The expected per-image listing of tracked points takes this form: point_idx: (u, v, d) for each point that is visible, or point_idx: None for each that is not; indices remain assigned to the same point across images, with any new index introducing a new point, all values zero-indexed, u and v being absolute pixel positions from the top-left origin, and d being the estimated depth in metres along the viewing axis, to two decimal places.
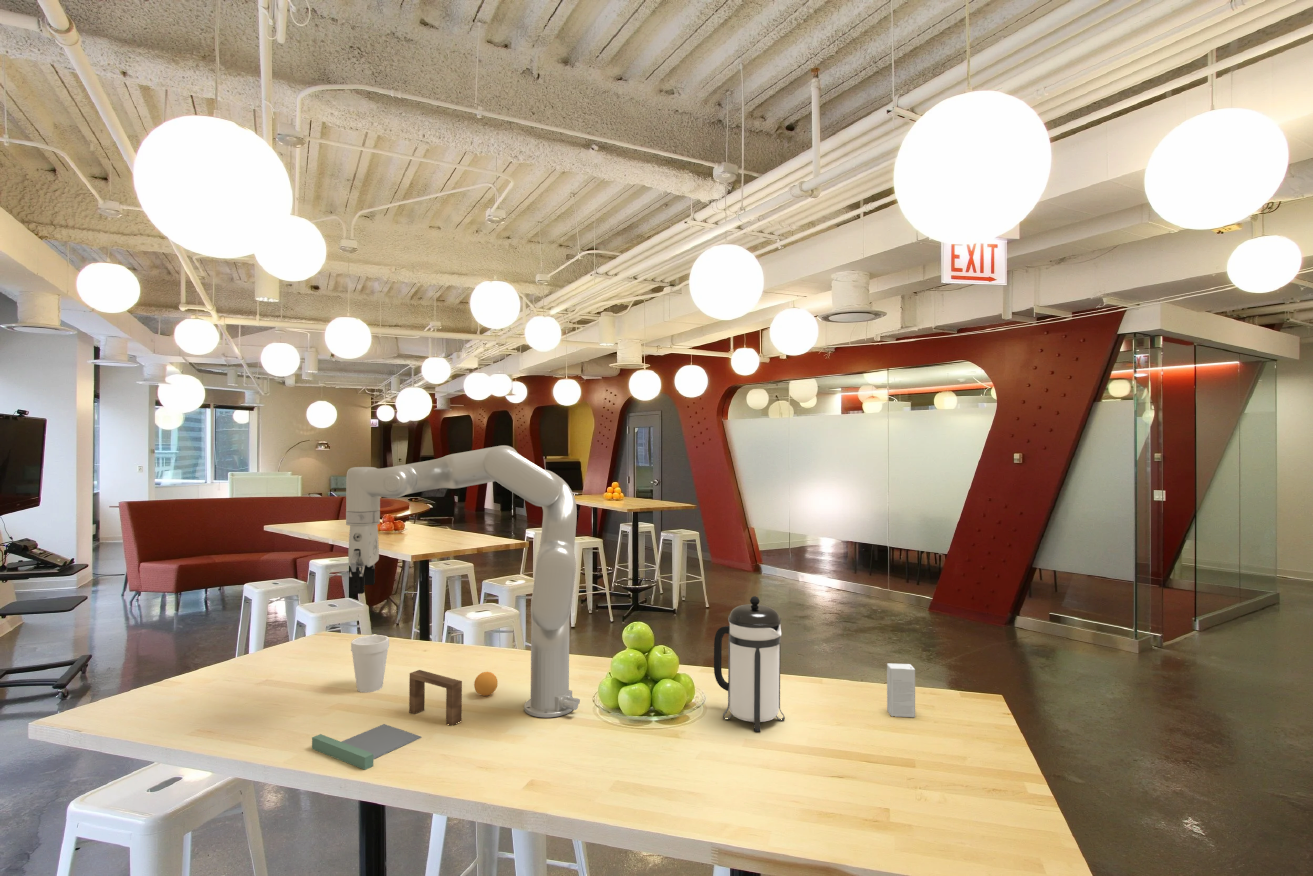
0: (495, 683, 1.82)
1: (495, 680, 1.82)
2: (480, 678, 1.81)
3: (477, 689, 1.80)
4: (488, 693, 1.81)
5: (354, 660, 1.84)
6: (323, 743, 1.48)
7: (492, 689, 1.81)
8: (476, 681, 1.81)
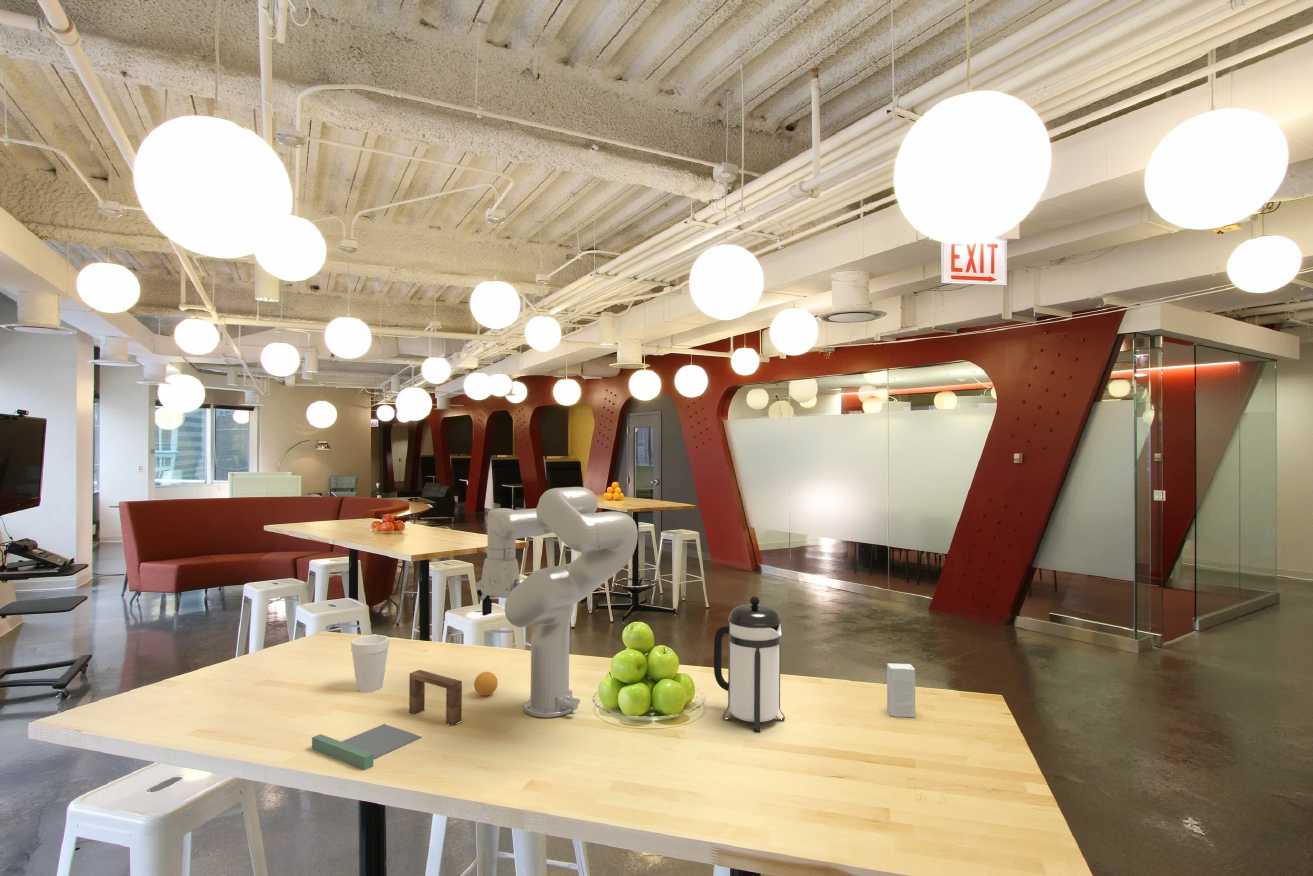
0: (495, 683, 1.82)
1: (495, 680, 1.82)
2: (480, 678, 1.81)
3: (477, 689, 1.80)
4: (488, 693, 1.81)
5: (354, 660, 1.84)
6: (323, 743, 1.48)
7: (492, 689, 1.81)
8: (476, 681, 1.81)
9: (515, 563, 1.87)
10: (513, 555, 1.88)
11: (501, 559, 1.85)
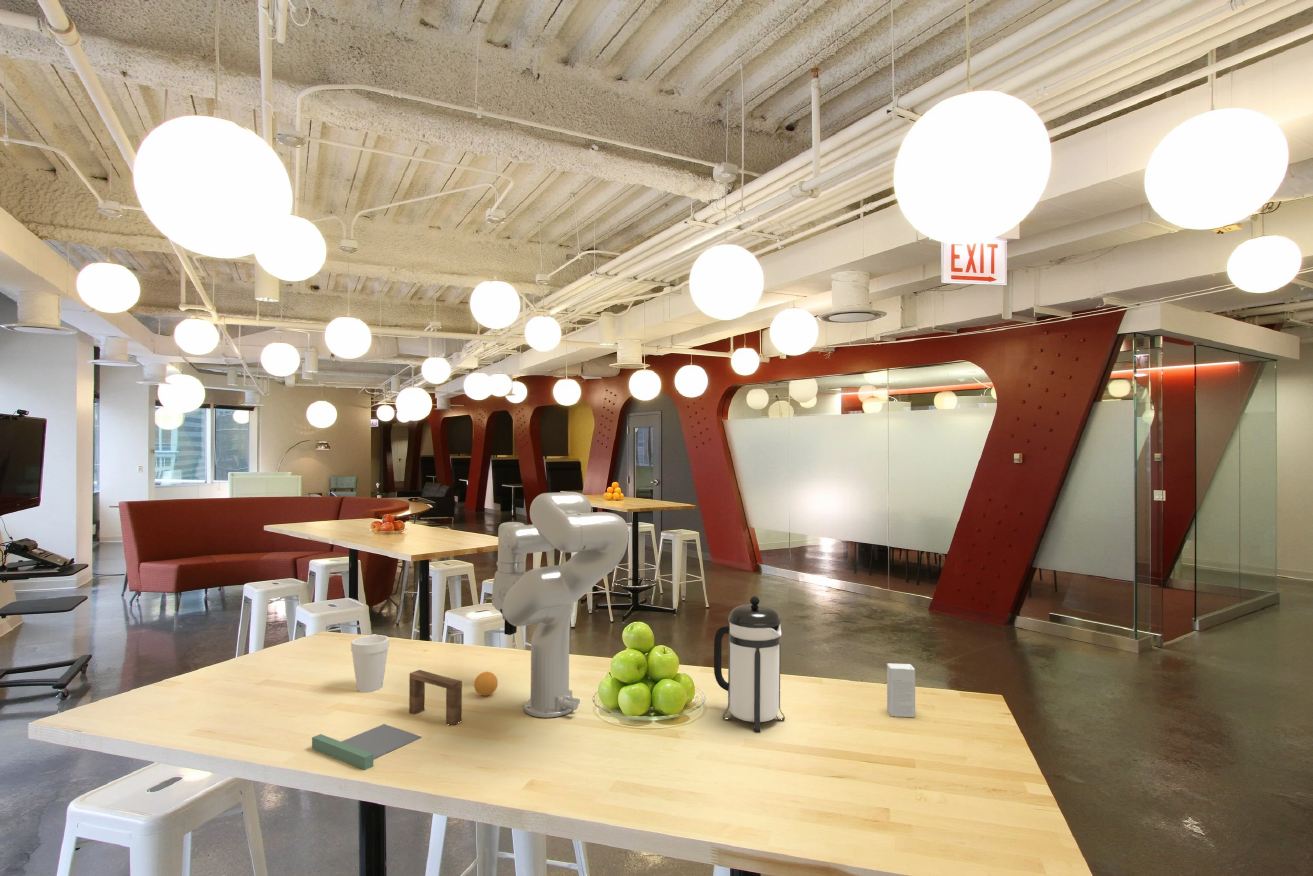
0: (495, 683, 1.82)
1: (495, 680, 1.82)
2: (480, 678, 1.81)
3: (477, 689, 1.80)
4: (488, 693, 1.81)
5: (354, 660, 1.84)
6: (323, 743, 1.48)
7: (492, 689, 1.81)
8: (476, 681, 1.81)
9: None
10: (522, 569, 1.89)
11: (510, 573, 1.87)
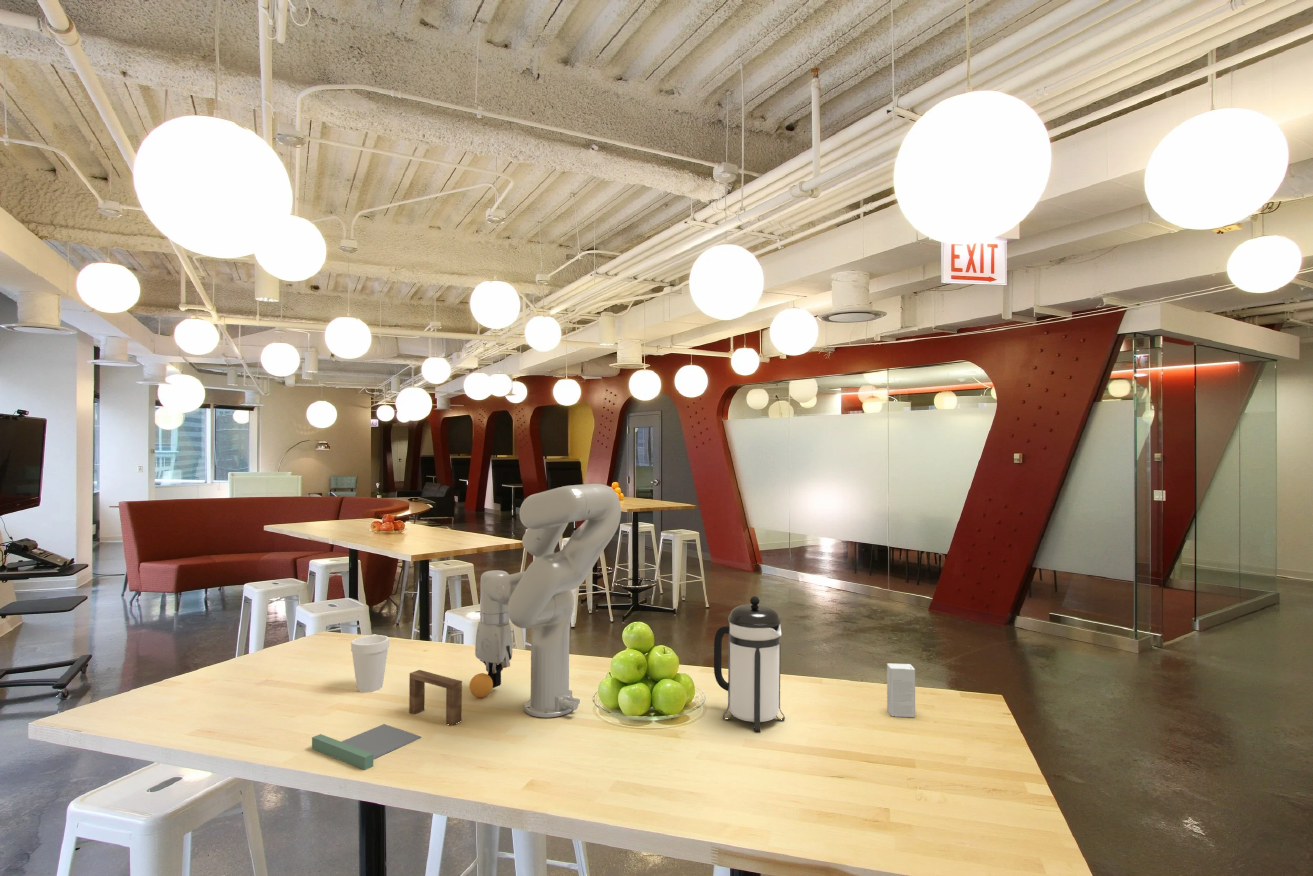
0: (490, 684, 1.80)
1: (489, 681, 1.81)
2: (474, 683, 1.79)
3: (473, 693, 1.79)
4: (485, 695, 1.80)
5: (354, 660, 1.84)
6: (323, 743, 1.48)
7: (488, 690, 1.80)
8: (470, 686, 1.79)
9: (507, 628, 1.83)
10: (505, 620, 1.84)
11: (492, 624, 1.82)
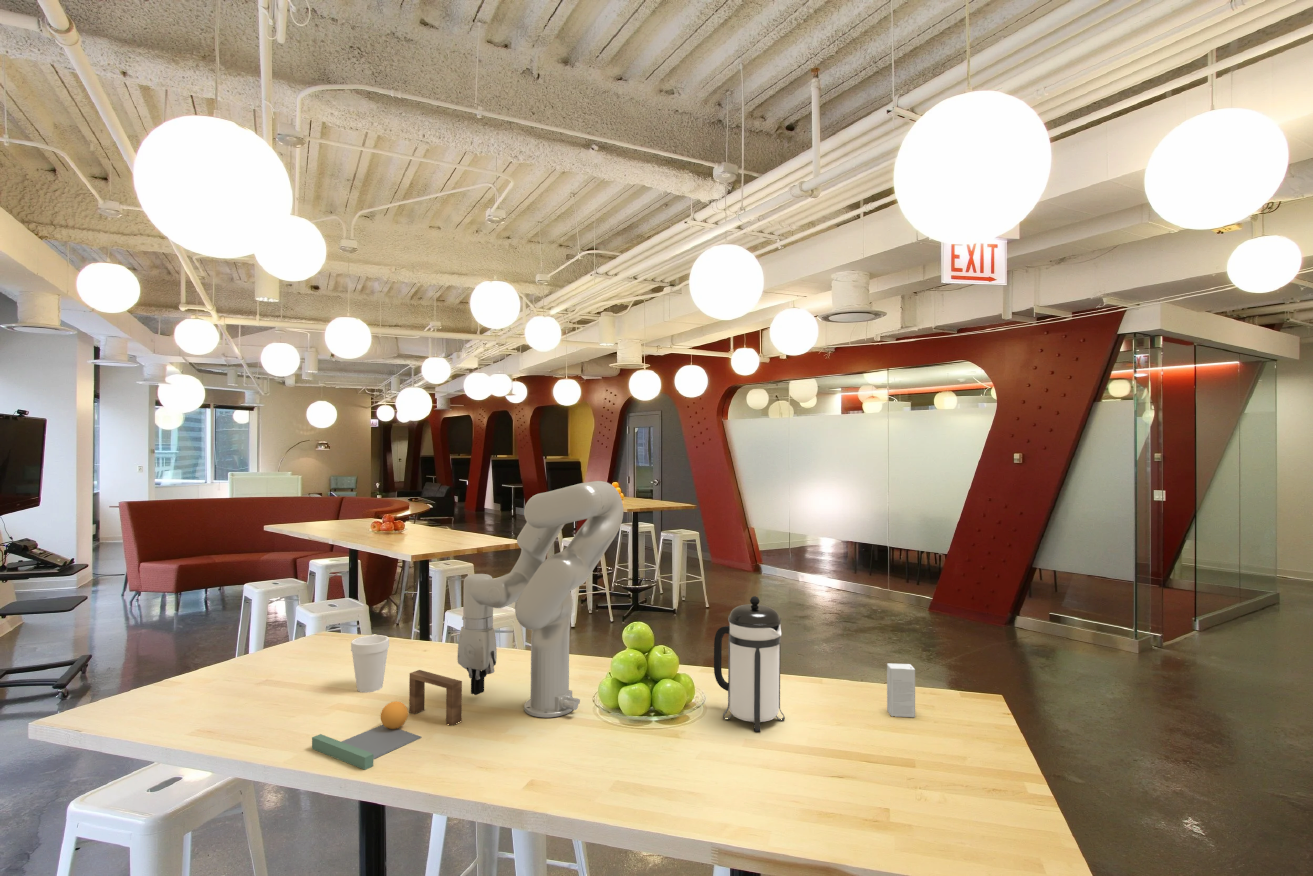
0: (397, 718, 1.59)
1: (393, 719, 1.59)
2: None
3: None
4: (406, 712, 1.62)
5: (354, 660, 1.84)
6: (323, 743, 1.48)
7: (403, 715, 1.60)
8: None
9: (491, 634, 1.78)
10: (489, 625, 1.79)
11: (476, 630, 1.76)
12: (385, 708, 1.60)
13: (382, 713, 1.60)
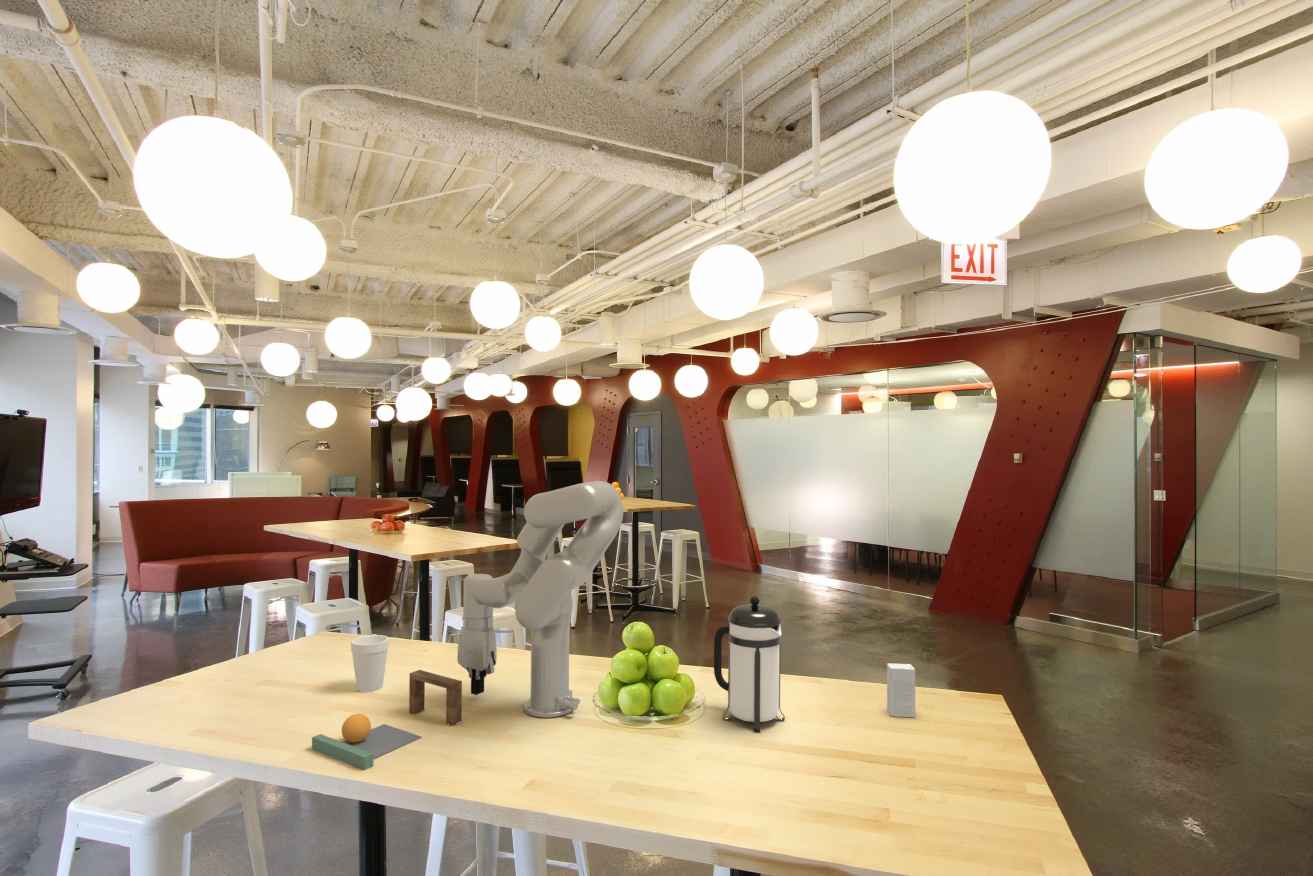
0: (367, 731, 1.53)
1: (369, 729, 1.54)
2: (358, 715, 1.54)
3: (346, 724, 1.52)
4: (353, 736, 1.51)
5: (354, 660, 1.84)
6: (323, 743, 1.48)
7: (360, 734, 1.52)
8: (351, 716, 1.54)
9: (491, 634, 1.78)
10: (489, 625, 1.79)
11: (476, 630, 1.76)
12: None
13: None
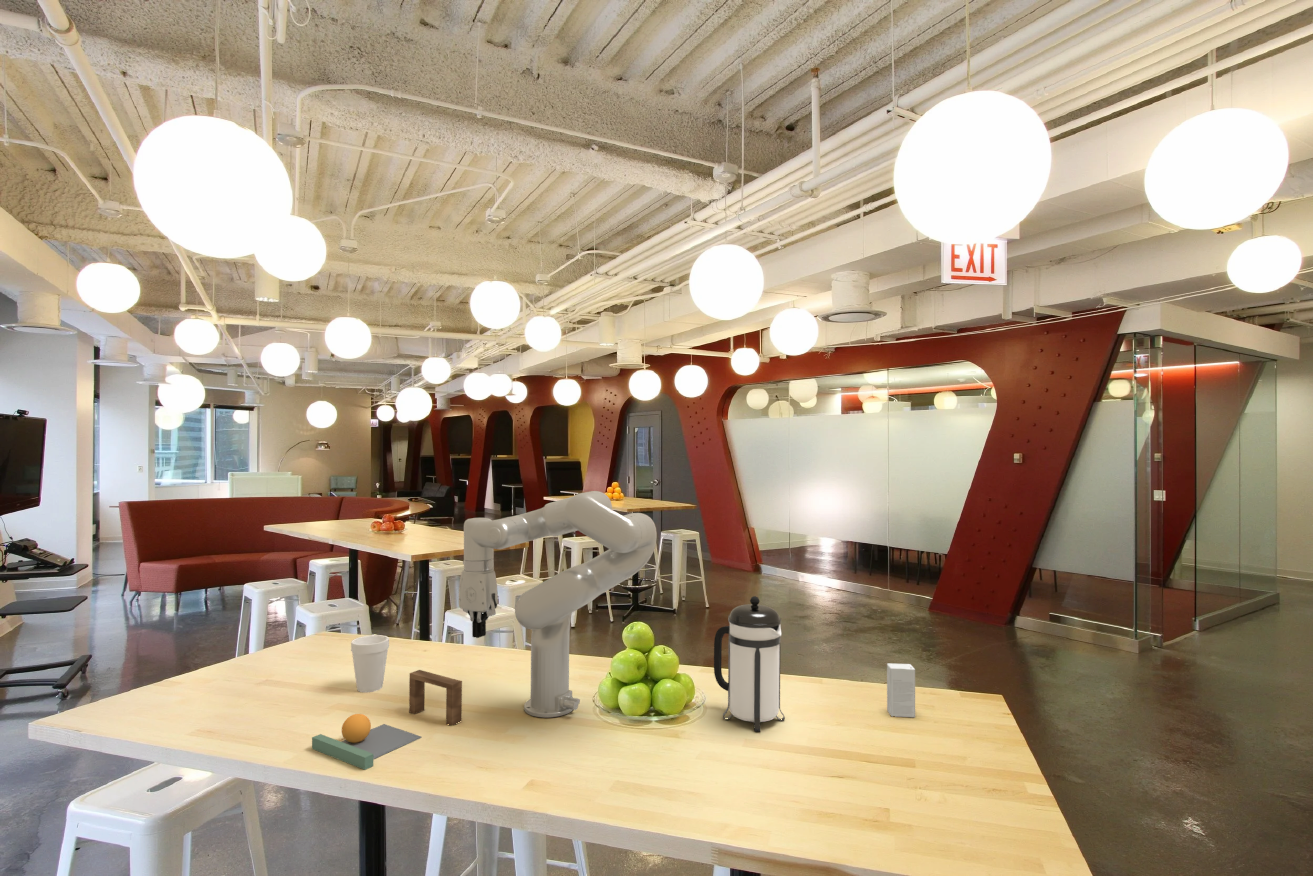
0: (367, 731, 1.53)
1: (369, 729, 1.54)
2: (358, 715, 1.54)
3: (346, 724, 1.52)
4: (353, 736, 1.51)
5: (354, 660, 1.84)
6: (323, 743, 1.48)
7: (360, 734, 1.52)
8: (351, 716, 1.54)
9: (492, 576, 1.78)
10: (490, 567, 1.79)
11: (477, 571, 1.76)
12: None
13: None
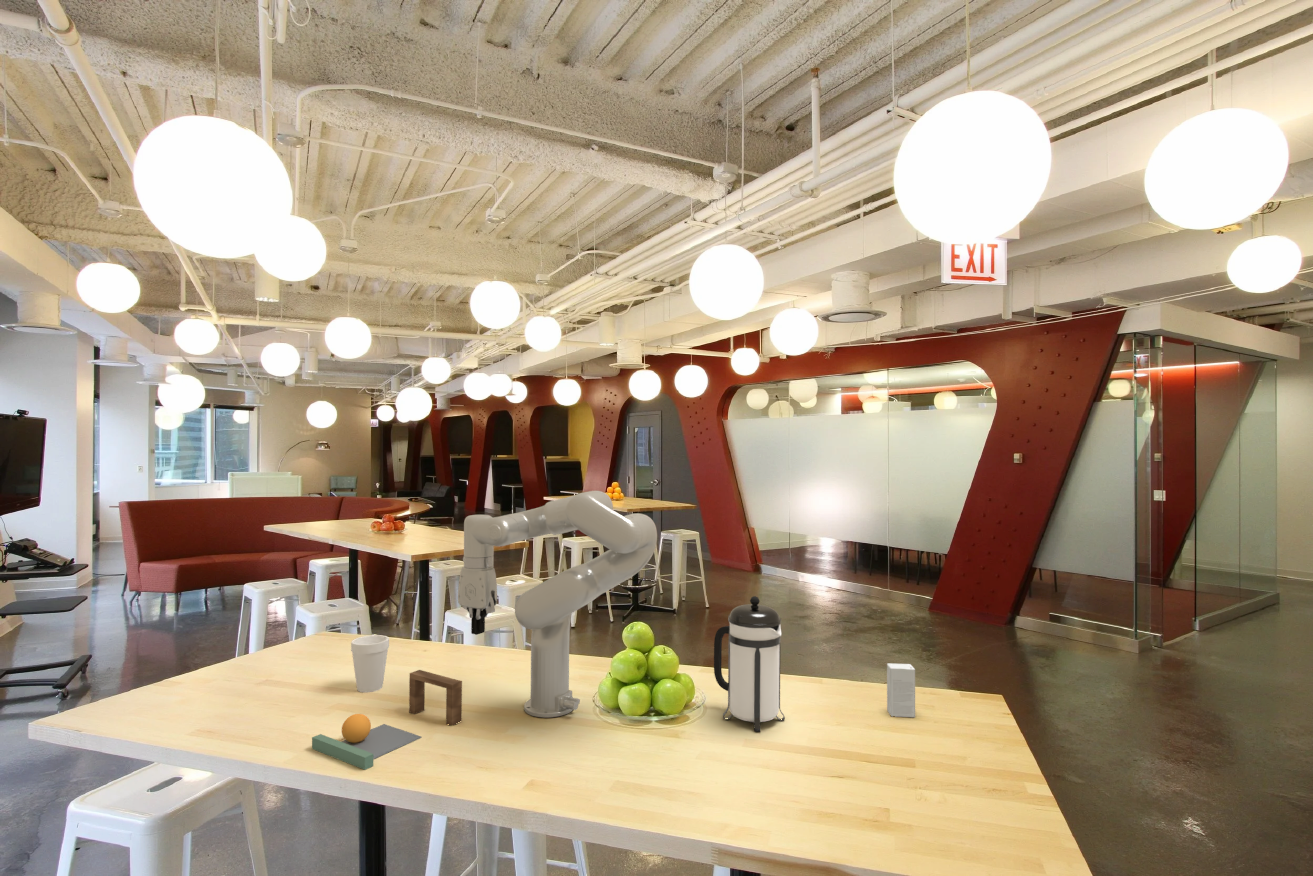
0: (367, 731, 1.53)
1: (369, 729, 1.54)
2: (358, 715, 1.54)
3: (346, 724, 1.52)
4: (353, 736, 1.51)
5: (354, 660, 1.84)
6: (323, 743, 1.48)
7: (360, 734, 1.52)
8: (351, 716, 1.54)
9: (491, 573, 1.78)
10: (490, 564, 1.79)
11: (477, 568, 1.76)
12: None
13: None
